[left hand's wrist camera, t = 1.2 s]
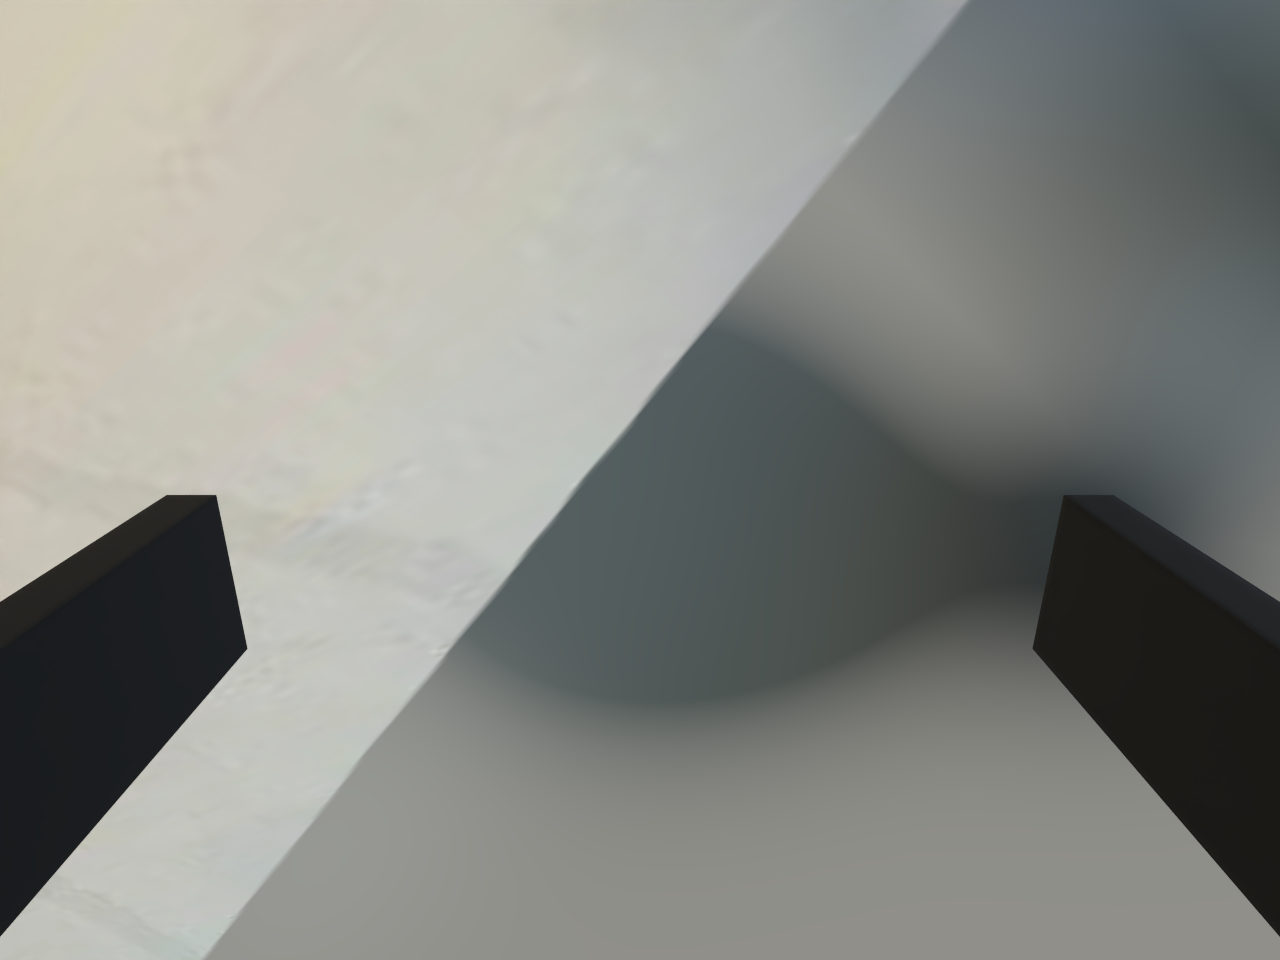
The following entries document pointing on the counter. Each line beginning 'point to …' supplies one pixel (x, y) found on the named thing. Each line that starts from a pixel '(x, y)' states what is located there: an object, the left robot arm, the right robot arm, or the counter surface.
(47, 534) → the counter surface
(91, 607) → the left robot arm
